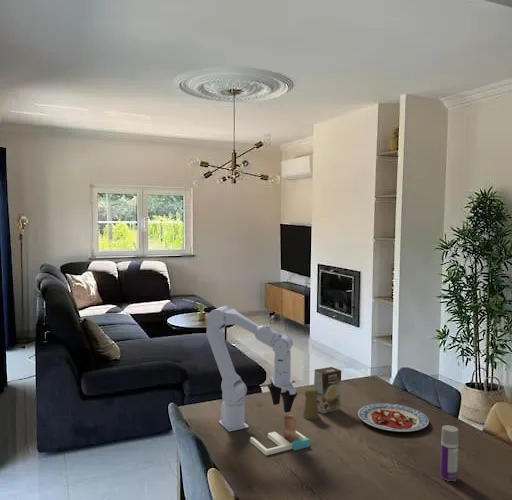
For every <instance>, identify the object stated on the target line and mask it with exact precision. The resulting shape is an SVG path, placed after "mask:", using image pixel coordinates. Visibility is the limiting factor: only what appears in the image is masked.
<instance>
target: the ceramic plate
mask: <svg viewBox="0 0 512 500" xmlns="http://www.w3.org/2000/svg"><path fill="white" fill-rule="evenodd" d="M357 414H358V415H357V416H358V417H359V419H360V420H361V421H362V422H364V424H367V425H369V426H371V427H374V428H377V429H380V430H383V431H391V432H397V433H398V432H399V433H400V432H401V433H402V432H403V433H406V432H415V431H420V430H423V429H424V428H427V426H428V425H429V423H430V421H429V420H430V419H429V418H428V417H427V415H426V414H425V413H424V412H422V411H420V410H418V409H416V408H413V407H409V406H406V405H401V404H398V403H397V404H396V403H381V402H380V403H371V404H367V405H364V406H363V407H361V408H360V409H359V410H358V412H357ZM407 416H408V417H407Z"/></svg>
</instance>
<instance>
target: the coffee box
mask: <svg viewBox="0 0 512 500" xmlns="http://www.w3.org/2000/svg"><path fill="white" fill-rule="evenodd" d="M313 380H314V383H313V385H314V386H313V388H315V389H317V391H318V396H317V406H318V413H321V414H326V413H330V412H331V413H332V412H335V411H340V410H341V403H342V402H341V400H342V399H341V395H342V392H341V391H342V370H341V369H339V368H335V367H333V366H330V367H323V368H317V369H314V378H313Z"/></svg>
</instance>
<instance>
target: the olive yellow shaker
mask: <svg viewBox="0 0 512 500" xmlns="http://www.w3.org/2000/svg"><path fill="white" fill-rule="evenodd" d="M304 396H305V402H304V408H303V415H302V417H303V418H304V419H306V420H310V421H311V420H312V421H314V420H317V419H318V420H319V418H320V417H319V411H318V406H317V396H318V391H317V389H315V388H314V387H307V388H305V390H304Z"/></svg>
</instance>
